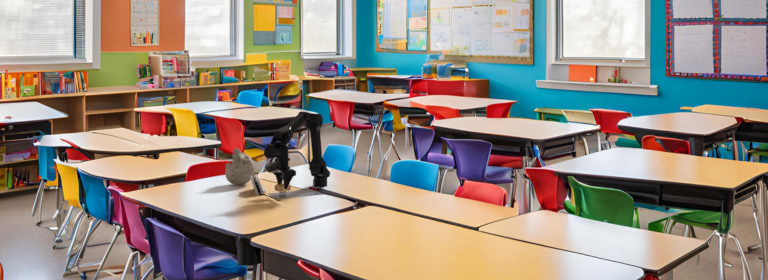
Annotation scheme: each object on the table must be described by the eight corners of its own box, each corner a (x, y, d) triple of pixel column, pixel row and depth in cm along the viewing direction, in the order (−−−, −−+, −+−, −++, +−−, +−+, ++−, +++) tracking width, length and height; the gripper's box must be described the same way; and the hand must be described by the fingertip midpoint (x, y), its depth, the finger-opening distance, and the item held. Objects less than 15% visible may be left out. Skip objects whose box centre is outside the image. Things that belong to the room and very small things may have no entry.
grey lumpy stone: (222, 184, 379) (222, 147, 377) (248, 181, 388) (248, 145, 385) (232, 188, 369) (232, 150, 366) (258, 185, 378) (258, 148, 375)
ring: (286, 187, 353) (286, 183, 353) (292, 190, 348) (292, 185, 347) (273, 189, 350) (273, 184, 350) (278, 191, 344) (278, 186, 344)
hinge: (266, 195, 355) (259, 176, 353) (257, 198, 354) (250, 179, 352) (265, 188, 371) (258, 170, 369) (256, 191, 370) (249, 173, 368)
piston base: (311, 191, 365) (311, 181, 364) (324, 196, 353) (324, 186, 352) (267, 196, 352) (267, 185, 352) (278, 201, 341) (278, 190, 340)
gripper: (259, 154, 350) (259, 185, 352) (274, 160, 334) (274, 192, 337) (280, 153, 356) (280, 184, 358) (296, 158, 340) (296, 190, 342)
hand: (282, 187), depth 349 cm, fingers closed on ring, 7 cm apart
